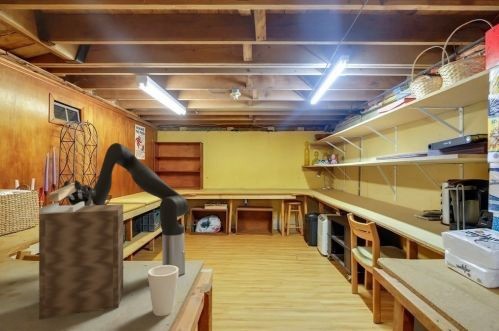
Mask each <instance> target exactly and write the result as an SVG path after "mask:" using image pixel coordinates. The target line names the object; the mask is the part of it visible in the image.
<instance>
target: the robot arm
mask: <svg viewBox="0 0 499 331" xmlns="http://www.w3.org/2000/svg"><path fill="white" fill-rule="evenodd" d="M116 164H117V165H118V166H120V167H122V168H123V169H125V170H126V171H127V172H128V173H129V174H130V176H131V178H132V180H133V182H134V183H135V184H136V186H138V187H139V188H140V189H141V190H142V191H143V192H145V193H147V194H148V195H149V194H150V195H151V196H154V197H156V198H158V199H160V200H161V201H160V203H159V204H160V205H159V220H160V221H159V222H160V229H161V232H162V233H161V234H162V235H161V236H162V248H161V249H162V250H161V253H162V258H161V259H162V261H161V262H162V263H161V264H162V265H161V266H163V265H172V266H176V267H178V276H182V275H185V274H186V251H185V226H184V225H182V224H179V223H178V218H179V217H182V216H184V215H186V214H187V213H188V211H189V204H188V200H187V199H186V198H185V197H184V196H183V195H182V194H180V193H178V192H177V191H176V190H175V189H173V188H172V187H170V186H169V185H168V184H167V183H166V182H165V181H164V180H163V179H161V178H160V177H159V176H158V175H157V174H156V173H155V172H154V171H153V170H152V169H151V168H150V167H148V166H147V165H146V164H144V163H142V162H141V161H140V160H139V159H138V158H137V156H136V155H135V153H134V152H132V150H130V149H129V148H128V147H126V146H125V145H123V144H121V143H119V142H115V143H112V144H111V145H110V146H108V148H107V149H106V152H105V155H104V158H103V162H102V165H101V168H100V172H99V174H98V178H97V181H96V183H95V184H94V187H92V186H90V185H87V184H84V185H83V184H82V183H81V182H80V181H78V180H74V183H75V184H74V185H75V187H76V189H77V191H75V192H74V193H72V194H70V195H68V196H67V197H65V199H67V200H68V202H69V203H70V205H75V204H77V203H79V202H84V206H94V205H106V204H105V203H106V201H107V199H108V196H109V194H110V192H111V189H112V183H113V181H112V180H113V178H112V177H113V171H114V168H115V166H116ZM70 184H71V183H70V181H69V180H65V181H64V182H63V185H61V187H60V188H63V187H65V186H67V185H70Z"/></svg>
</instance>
